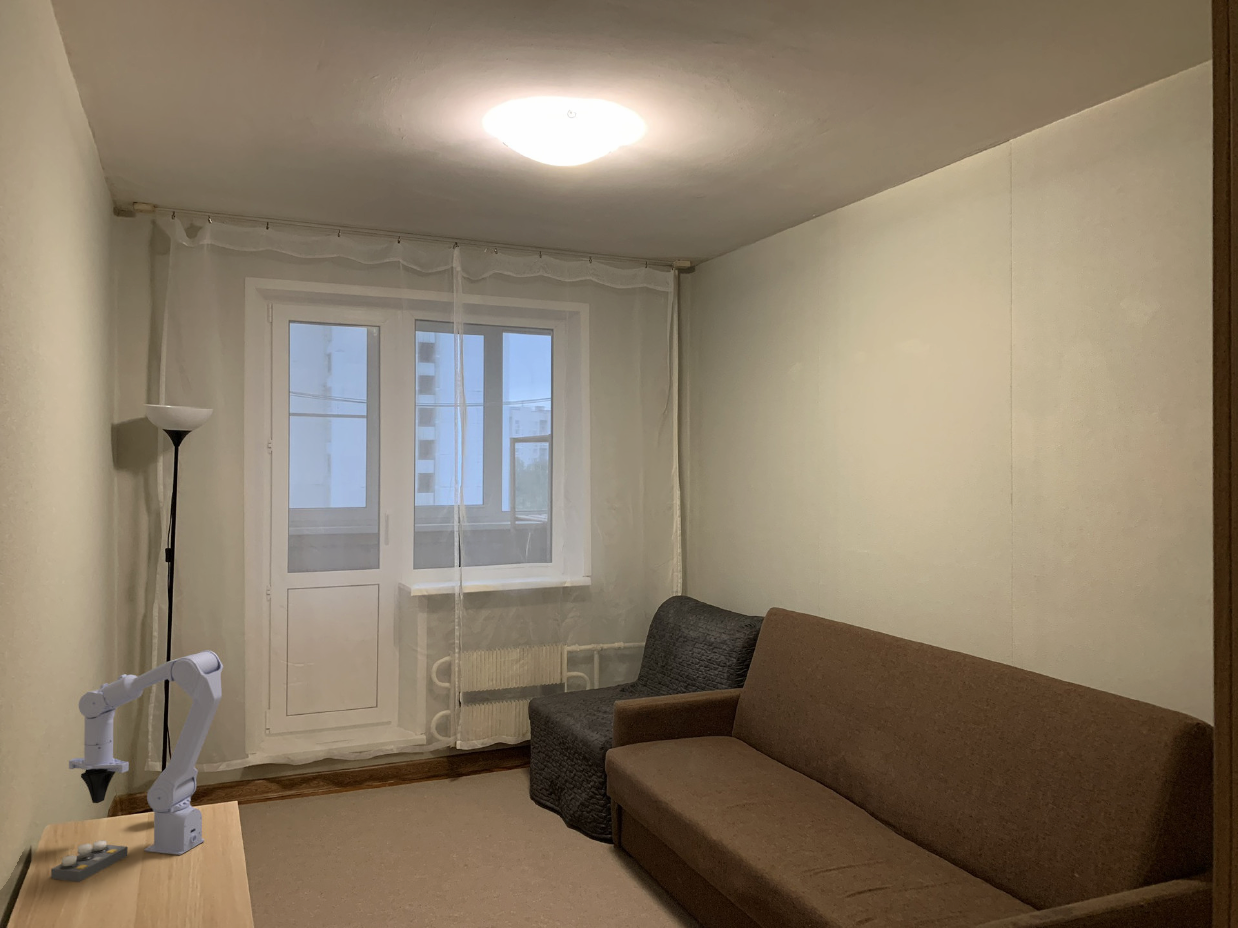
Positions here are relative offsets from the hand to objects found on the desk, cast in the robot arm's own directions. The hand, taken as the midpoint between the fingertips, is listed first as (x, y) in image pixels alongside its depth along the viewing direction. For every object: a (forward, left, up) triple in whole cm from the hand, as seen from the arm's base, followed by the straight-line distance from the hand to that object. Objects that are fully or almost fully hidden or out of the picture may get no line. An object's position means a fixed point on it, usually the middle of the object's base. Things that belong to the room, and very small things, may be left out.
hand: (98, 801), depth 202 cm
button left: (-7, +16, -7) cm, 19 cm away
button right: (-7, +8, -7) cm, 13 cm away
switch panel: (-8, +11, -9) cm, 17 cm away
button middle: (-8, +12, -6) cm, 15 cm away
